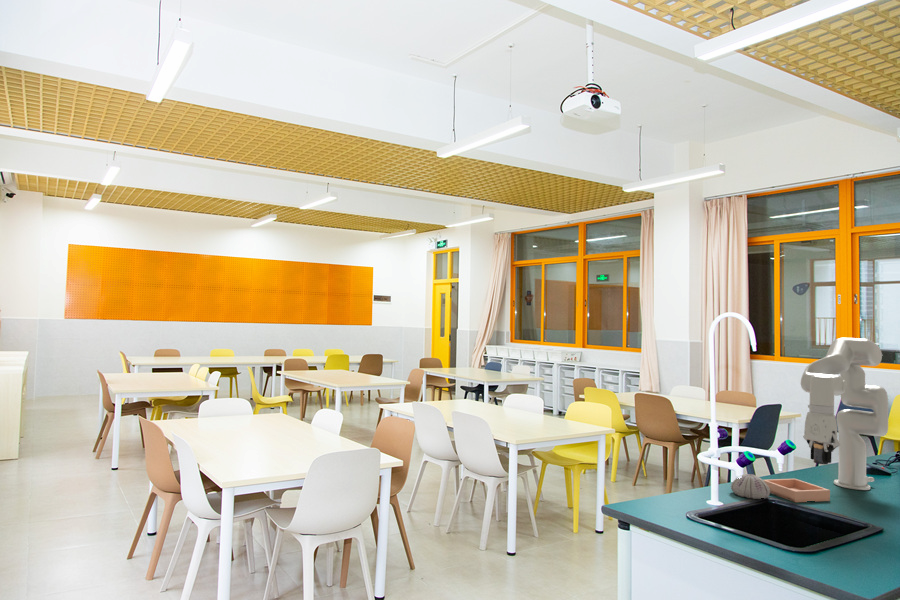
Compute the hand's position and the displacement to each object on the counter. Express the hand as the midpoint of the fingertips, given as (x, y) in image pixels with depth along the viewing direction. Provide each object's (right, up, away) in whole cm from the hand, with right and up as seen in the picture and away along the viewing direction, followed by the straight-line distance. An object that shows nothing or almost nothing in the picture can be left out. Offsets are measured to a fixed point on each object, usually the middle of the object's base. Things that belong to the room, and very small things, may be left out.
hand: (820, 460), depth 210 cm
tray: (0, -18, +16) cm, 24 cm away
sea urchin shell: (-19, -17, +13) cm, 29 cm away
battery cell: (0, -1, 0) cm, 1 cm away
